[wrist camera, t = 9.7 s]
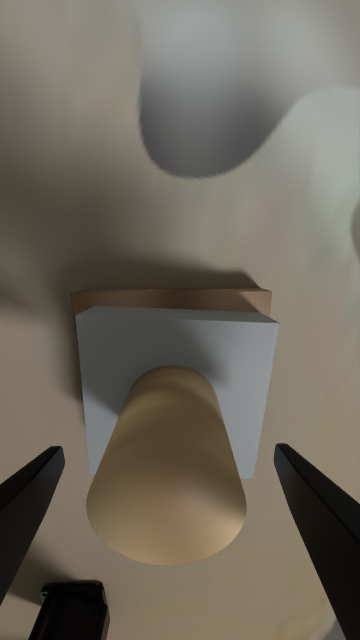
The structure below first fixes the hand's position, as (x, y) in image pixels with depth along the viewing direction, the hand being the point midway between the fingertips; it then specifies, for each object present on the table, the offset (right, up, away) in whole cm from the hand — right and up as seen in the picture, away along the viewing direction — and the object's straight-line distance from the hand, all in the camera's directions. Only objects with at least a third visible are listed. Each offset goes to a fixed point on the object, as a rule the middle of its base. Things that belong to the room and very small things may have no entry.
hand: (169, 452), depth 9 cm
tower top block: (0, +1, +5) cm, 5 cm away
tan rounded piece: (0, +1, +3) cm, 3 cm away
